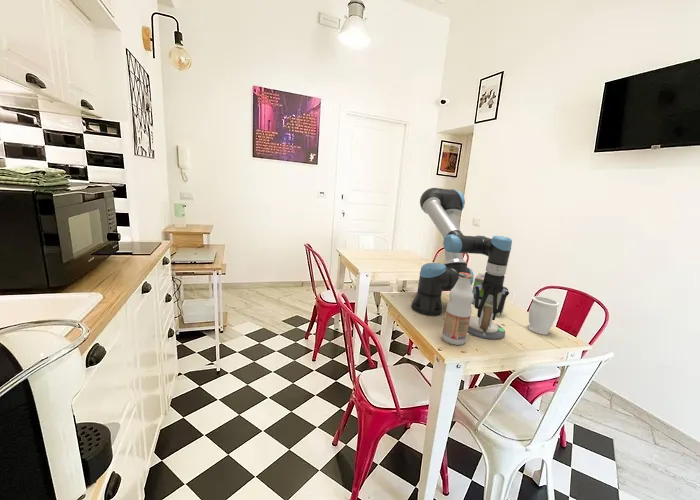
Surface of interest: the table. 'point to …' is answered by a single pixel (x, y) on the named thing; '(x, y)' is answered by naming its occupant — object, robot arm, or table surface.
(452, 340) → the fruit juice
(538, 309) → the jar
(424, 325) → the table surface
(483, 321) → the tuner dial
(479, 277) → the tea box
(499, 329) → the dial base
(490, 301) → the coffee can
